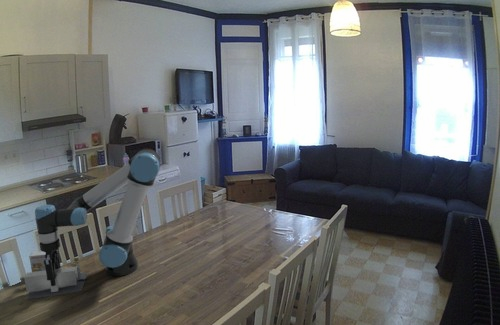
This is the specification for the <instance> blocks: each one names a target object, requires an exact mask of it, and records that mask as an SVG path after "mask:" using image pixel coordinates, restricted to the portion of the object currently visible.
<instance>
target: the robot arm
mask: <svg viewBox="0 0 500 325" xmlns="http://www.w3.org/2000/svg"><path fill="white" fill-rule="evenodd" d="M160 166H161V158H160V155H159V153H157V152H156V151H155V150H153V149H151V148H144V149H141V150H139V151H138V152H137V153H136V154H135V155H134V156H133V157H131V158H130V159H129V160H127V163H126V164H125V165H124V166H123V167H120V168H119V169H117V171H115V172H114V173H112V174H111V175H109V176H108V177H107V178H105V179H104V180H102V181H101V182H99V183H98V184H96V185H95V186H94V187H92V188H91V189H89V190H88V191H86V192H85V193H84V194H83V195H81V196H80V197H77V198H75V199H74V200H73V201H72V202H71V204H70V205H69V206H68V207H67V208H61V209H60V208H59V209H56V207H55V205H53V204H44V205H40V206H37V207H36V208H35V209H34V214H35V215H34V216H35V218H34V219H35V223H36V229H37V235H36V236H37V237H38V241H39V249H40V250H39V251H43V252H45V253H46V254H45V258H46V260H44V264H45V269H46V275H47V280H50V286H51V292H56V291H58V283H57V277H56V274H55V269H60V268H62V267H61V260H60V253H59V252H60V250H59V249H60V247H61V242H60V234H59V230H58V229H59V228H62V227H73V226H74V227H75V226H76V227H78V226H83V225H85V224H86V223H87V220H88V212H89V211H90V210H92V209H93V208H94V207H96V206H97V205H99V204H100V203H101V202H103V201H104V200H106V199H107V198H108V197H110V196H112V195H113V194H115V193H116V192H118V191H119V190H120V189H121V188H123V187H124V186H126V185H127V184H128V185H127V186H126V190H125V192H124V194H123V197H122V202H121V203H120V206H119V210H118V212H117V214H116V218H115V220H114V223H113V224H112V225H109V226H107V227H106V228H105V238H104V241H103V243H102V246H101V248H100V250H99V252H98V258H99V262H101V264H102V265H103V266H105V271H106V274H107V275H109V276H112V277H121V276H126V275H130V274H132V273H133V272H135V271H137V269H139V262H138V259H137V257H136V255H135V253H134V248H133V247H134V246H133V240H134V238H133V236H132V235H133V231H134V229H135V226H136V222H137V219H138V217H139V214H140V211H141V209H142V206H143V203H144V200H145V198H146V195H147V192H148V189H149V188H150V187H153V186H154V183H155V180H156V178H157V176H158V174H159V172H160V168H161V167H160Z"/></svg>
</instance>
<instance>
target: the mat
mask: <svg viewBox="0 0 500 325" xmlns="http://www.w3.org/2000/svg"><path fill="white" fill-rule="evenodd" d="M85 282H86V280H85V281H80V282H78V283H77V285H71V286H65V287H58V291H56V292H51V289H44V290H37V291H30V292H28V295H27V296H26V297H25V300H26V301H27V300H33V299H40V298H48V297H53V296H59V295H60V296H61V295H67V294H74V293H78V292H79V293H80V292H82V291H83V288H84V286H85Z"/></svg>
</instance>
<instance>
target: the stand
mask: <svg viewBox="0 0 500 325" xmlns="http://www.w3.org/2000/svg"><path fill="white" fill-rule="evenodd" d="M73 261H74V262H71V264H70V267H75V266H77V271H78V279H79V280H78V282H81V281H85V282H86V280H87V277H88V273H89V272H81V271H80V264H79V262H80V257H78V256H77V257H73ZM36 264H37V266H42V262H37V263H36ZM32 271H33V272H37V271H42V270H41V267H36V268H33V269H32V270H31V272H32Z"/></svg>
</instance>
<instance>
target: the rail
mask: <svg viewBox="0 0 500 325" xmlns="http://www.w3.org/2000/svg"><path fill="white" fill-rule="evenodd" d="M55 274H56V277H57V283H58V287H65V286H71V285H77V283H78V280H79V279H78V271H77V266H75V267H72V266H69V267H60V269H55ZM23 279H24V283H25V284H24V285H25V291H26V293H30V291H37V290H44V289H51V286H50V280H47V275H46V270H45V271H37V272H32V271H31V272H26V274H25V275H24V277H23Z"/></svg>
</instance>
